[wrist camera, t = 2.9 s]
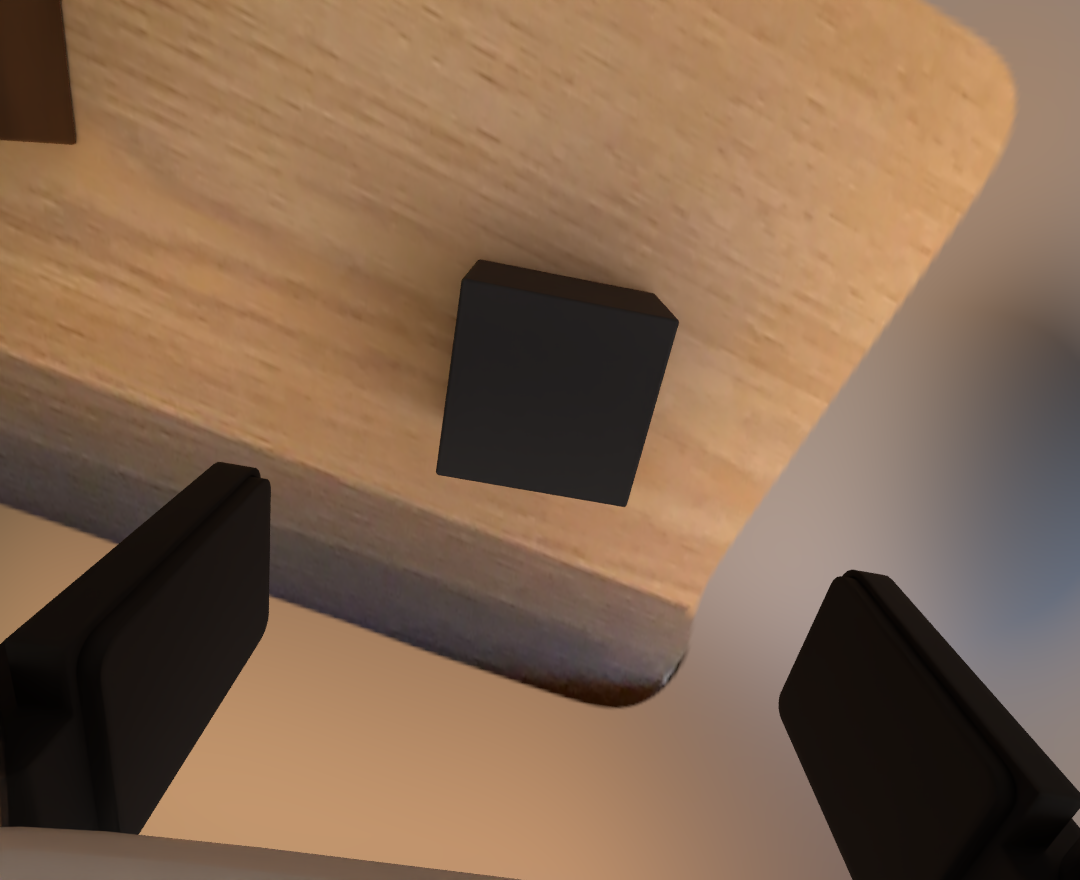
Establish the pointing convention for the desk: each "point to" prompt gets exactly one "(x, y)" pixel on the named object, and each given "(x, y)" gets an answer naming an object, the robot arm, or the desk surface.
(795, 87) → the desk surface
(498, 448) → the block
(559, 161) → the desk surface
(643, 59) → the desk surface
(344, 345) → the desk surface
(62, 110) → the stand
